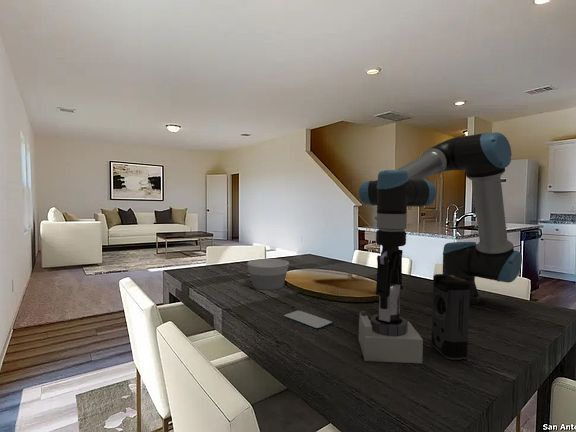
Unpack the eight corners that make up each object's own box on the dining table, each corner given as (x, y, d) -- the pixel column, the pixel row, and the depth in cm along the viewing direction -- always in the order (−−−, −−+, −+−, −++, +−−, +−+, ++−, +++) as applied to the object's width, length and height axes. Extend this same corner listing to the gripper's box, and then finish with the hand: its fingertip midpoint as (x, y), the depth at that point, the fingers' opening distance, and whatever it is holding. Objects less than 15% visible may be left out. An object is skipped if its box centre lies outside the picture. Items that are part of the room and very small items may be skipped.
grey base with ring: (408, 342, 94) (409, 310, 94) (422, 363, 82) (423, 327, 82) (358, 340, 95) (359, 308, 95) (364, 360, 83) (365, 325, 83)
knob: (382, 323, 92) (383, 281, 91) (401, 328, 89) (403, 284, 88) (375, 329, 88) (376, 285, 87) (395, 334, 85) (396, 288, 84)
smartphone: (282, 318, 114) (317, 331, 102) (282, 315, 114) (317, 328, 102) (298, 312, 119) (333, 324, 108) (299, 310, 119) (333, 321, 107)
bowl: (296, 284, 156) (297, 261, 155) (273, 294, 140) (273, 268, 139) (263, 278, 166) (263, 257, 165) (238, 287, 150) (238, 263, 149)
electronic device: (428, 344, 93) (431, 273, 92) (449, 343, 93) (451, 273, 92) (447, 360, 84) (450, 282, 82) (470, 360, 84) (473, 282, 83)
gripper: (388, 226, 97) (387, 304, 98) (363, 232, 81) (361, 324, 82) (415, 227, 93) (413, 309, 94) (393, 234, 77) (391, 331, 78)
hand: (388, 316), depth 88 cm, fingers open, 6 cm apart
